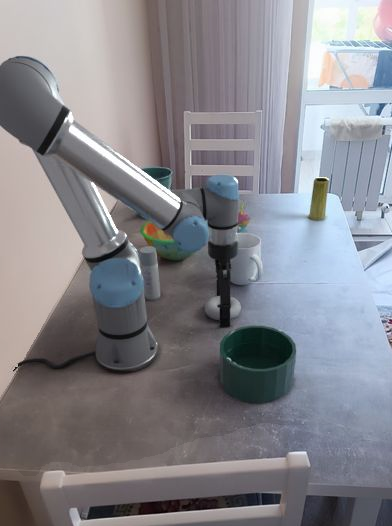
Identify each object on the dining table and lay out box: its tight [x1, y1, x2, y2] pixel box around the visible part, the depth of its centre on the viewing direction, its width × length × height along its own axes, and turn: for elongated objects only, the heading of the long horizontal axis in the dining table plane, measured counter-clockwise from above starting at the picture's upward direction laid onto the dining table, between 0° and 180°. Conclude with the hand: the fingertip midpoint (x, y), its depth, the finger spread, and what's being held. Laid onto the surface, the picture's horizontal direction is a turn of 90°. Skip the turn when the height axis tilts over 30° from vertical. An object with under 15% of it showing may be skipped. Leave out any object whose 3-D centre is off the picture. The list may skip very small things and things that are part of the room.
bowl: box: [140, 220, 196, 261], centre depth 159 cm, size 22×22×10 cm
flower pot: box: [140, 166, 173, 190], centre depth 187 cm, size 16×16×16 cm
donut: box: [204, 295, 242, 322], centre depth 132 cm, size 10×4×10 cm
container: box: [139, 245, 162, 302], centre depth 137 cm, size 5×5×15 cm
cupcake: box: [237, 199, 251, 233], centre depth 173 cm, size 9×8×12 cm
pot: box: [219, 325, 297, 404], centre depth 109 cm, size 17×17×9 cm
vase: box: [308, 177, 330, 221], centre depth 180 cm, size 6×6×14 cm
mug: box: [230, 232, 264, 286], centre depth 142 cm, size 15×11×13 cm
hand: (223, 312), depth 133 cm, fingers open, 12 cm apart
